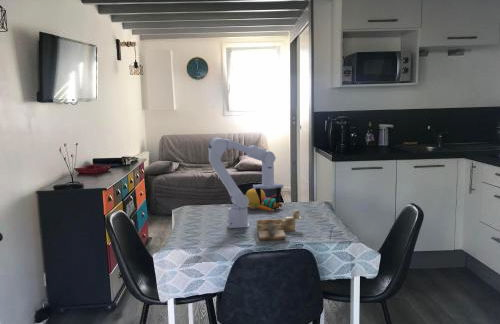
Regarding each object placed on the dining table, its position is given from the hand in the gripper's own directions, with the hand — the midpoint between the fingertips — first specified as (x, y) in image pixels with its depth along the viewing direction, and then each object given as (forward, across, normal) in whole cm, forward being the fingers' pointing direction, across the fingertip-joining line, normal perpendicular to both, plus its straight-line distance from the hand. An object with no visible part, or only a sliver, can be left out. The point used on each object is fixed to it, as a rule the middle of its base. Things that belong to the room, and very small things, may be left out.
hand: (268, 203), depth 215 cm
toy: (+10, -2, +30) cm, 31 cm away
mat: (+9, -1, -26) cm, 28 cm away
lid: (+8, -1, -26) cm, 27 cm away
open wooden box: (+9, +2, -14) cm, 17 cm away
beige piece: (+5, +10, -14) cm, 18 cm away
